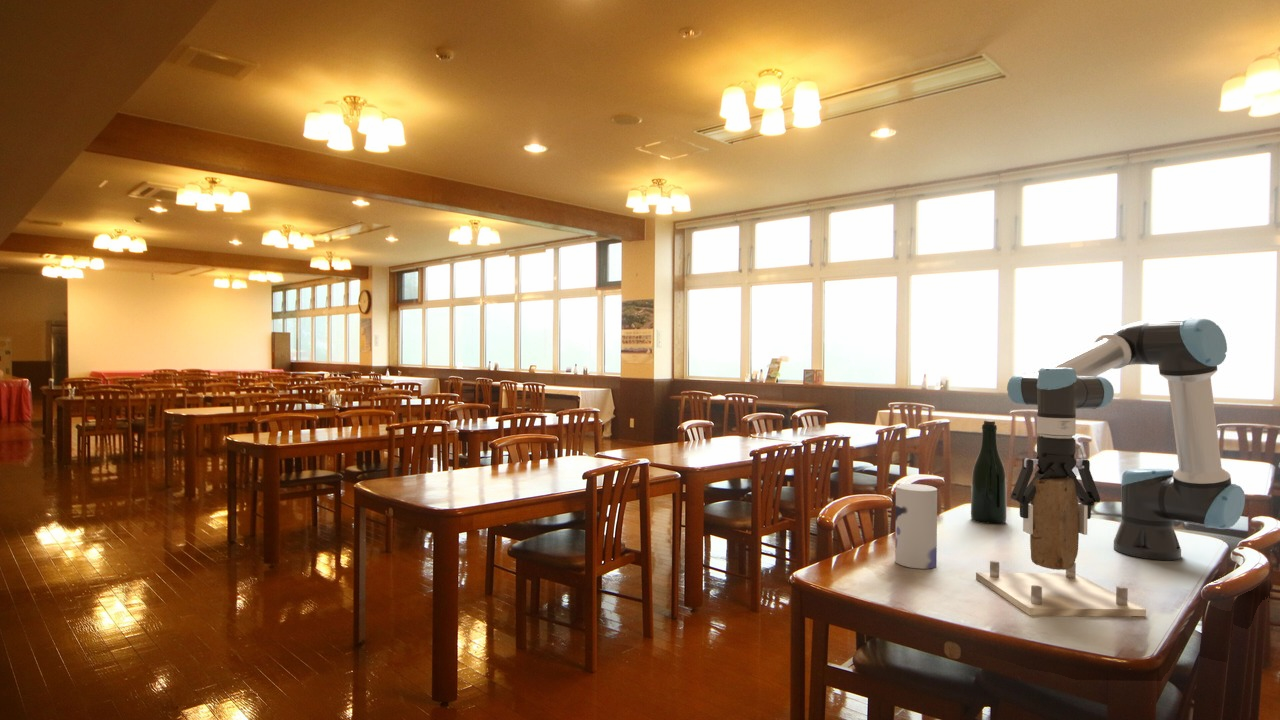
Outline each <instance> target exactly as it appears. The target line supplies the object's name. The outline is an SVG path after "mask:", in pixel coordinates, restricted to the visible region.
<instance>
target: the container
mask: <svg viewBox="0 0 1280 720" xmlns="http://www.w3.org/2000/svg"><path fill="white" fill-rule="evenodd" d="M937 529H938V488H937V487H935V486H931V485H926V484H920V483H918V484H917V483H901V484H897V485H895V533H894V534H895V538H894V539H895V542H894V543H895V544H894V545H895V549H894V551H895V554H894V556H895V557H894V558H895V559H894V560H895V561H894V562H895V563H897V564H898V565H899V566H902V567H907V568H910V569H917V570H918V569H920V570H922V569H923V570H925V569H933V568H936V567H937V563H938V559H937V558H938V556H937V555H938V554H937V553H938V551H937V550H938V548H937V547H938V541H937V540H938V538H937V537H938V534H937V532H938V530H937Z"/></svg>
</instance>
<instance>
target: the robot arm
mask: <svg viewBox="0 0 1280 720" xmlns="http://www.w3.org/2000/svg"><path fill="white" fill-rule="evenodd" d="M1227 352H1228V344H1227V340H1226V336H1225V333H1224V332H1223V330H1222V328H1221V327H1220V326H1219V325H1218V324H1216V323H1215V322H1214V321H1213V320H1210V319H1207V318H1192V317H1189V318H1171V319H1154V320H1153V319H1152V320H1151V319H1148V320H1141V321H1136V322H1132V323H1129V324H1126V325H1123V326H1121V327H1118V328H1115V329H1113V330H1111V331H1108V332H1107V333H1104V334H1102V335H1101V336H1099V337H1097V338H1096V339H1095V341H1094V343H1093V344H1091V345H1089V346H1086V347H1085V348H1083V349H1081V350H1078V351H1076V352H1074V353H1072V354H1070V355H1068V356H1066V357H1063V358H1062V359H1060V360H1057V361H1056V362H1054V363H1052V364H1049V365H1048V366H1045V367H1042V368H1039V370H1038V371H1036V372H1033V373H1029V374H1028V373H1027V374H1026V373H1017V374H1014V375H1011V376H1010V378H1009V380H1008V381H1007V386H1006V391H1007V395H1008V398H1009V399H1010V401H1012V402H1013V403H1015V404H1021V405H1025V406H1037V413H1036V414H1037V415H1036V433H1037V434H1038V436H1037V437H1036V454H1037V455H1036V457H1035V458H1028V457H1027V458H1026V457H1023V458H1022V461H1021V462H1022V463H1021V470H1020V473H1019V475H1018V477H1017V480H1016V482H1015V484H1014V487H1013V490H1012V492H1011V494H1010V498H1011V500H1013V501H1016V502H1018V503H1019V517H1020V518H1022V532H1024V533H1026V534H1029V535H1030V534H1033V505H1032V504H1031V500H1032V499H1033V497H1034V496H1035V493H1036V485H1035V486H1033V482H1034V480H1035V479H1037V478H1039V480H1042V479H1049V477H1050V478H1057V477H1059V478H1065V477H1069V478H1072V479H1073V480H1074V482H1075V490H1076V495H1077V499H1079V501H1080V502H1081V503H1080V502H1078V512H1079V534H1082V535H1084V536H1086V535H1087V536H1088V520H1090V519H1091V518H1092V507H1093V506H1095V503H1100V502H1101V496H1100V495H1099V491H1098V489H1097V486H1096V484H1095V481H1094V477H1093V476H1092V473H1091V469H1090V467H1091V465H1090V460H1088V459H1086V458H1081V457H1079V458H1078V459H1076V458H1075V455H1076V449H1077V448H1076V439H1075V438H1074V437H1073V436H1075V435H1076V425H1077V424H1076V422H1077V421H1076V418H1077V417H1076V415H1077V413H1076V412H1077V409H1078V410H1079V409H1081V410H1086V409H1090V410H1097V409H1101V408H1104V407H1106V406H1108V405H1109V404H1111V403H1112V401H1113V399H1114V396H1115V395H1114V394H1115V392H1114V391H1115V389H1114V387H1113V384H1112V383H1111V382H1110V381H1109V380H1108V379H1107V378H1105V377H1102V376H1099V375H1102V374H1103V373H1106V372H1107V371H1110V370H1111V369H1114V370H1115V369H1121V368H1122V369H1123V368H1124V367H1126V366H1130V365H1131V366H1133V365H1153V366H1154V365H1156V366H1158V373H1159V375H1160V376H1162V377H1163V378H1164V379H1166V380H1167V383H1168V384H1167V385H1168V393H1169V400H1170V407H1171V408H1170V409H1171V415H1172V417H1171V418H1172V422H1173V432H1174V439H1175V440H1174V441H1175V447H1176V455H1177V462H1178V463H1177V464H1178V468H1177V470H1175V471H1174V470H1173V469H1169V468H1168V469H1167V468H1138V469H1137V468H1134V469H1127V470H1125V471H1124V472H1123V473H1122V476H1121V484H1120V488H1121V516H1120V517H1121V519H1120V524H1119V527H1118V529H1117V532H1116V533H1115V537H1114V538H1113V550H1115V551H1117V552H1119V553H1121V554H1125V555H1128V556H1132V557H1136V558H1142V559H1147V560H1148V559H1149V560H1158V561H1176V560H1180V559H1182V548H1181V545H1180V542H1179V539H1178V537H1177V534H1176V531H1175V530H1174V529H1175V528H1174V521H1176V522H1182V523H1186V524H1191V525H1196V526H1201V527H1205V528H1207V529H1211V528H1212V529H1220V530H1227V529H1230V528H1232V527H1234V526H1235V525H1236V524H1237V523H1238V522H1239V520H1240V518H1241V516H1242V514H1243V512H1244V509H1245V503H1246V502H1245V501H1246V494H1245V491H1244V489H1243V488H1242V486H1240V485H1237V484H1235V483H1232V478H1231V474H1230V473H1229V472H1228V471H1226V469H1224V468H1223V467H1222V460H1221V453H1220V452H1221V451H1220V444H1219V443H1220V441H1219V435H1218V429H1217V417H1216V412H1215V411H1216V410H1215V402H1214V393H1213V387H1212V376H1213V375H1214V374H1215V373H1216V372H1218V366H1219V365H1221V364H1223V362H1224V361H1225V360H1226V358H1227V357H1226V356H1227V354H1226V353H1227ZM1036 467H1038V469H1037V471H1036V472H1035V473H1034V477H1033V478H1032V479H1031V477H1032V474H1033V472H1034V469H1036ZM1075 467H1076V468H1077V470H1078V473H1079V476H1080V479H1081V482H1082V484H1081V483H1080V481H1079V480H1078V478H1077V475H1076V474H1075V473H1074V471H1073V470H1074V468H1075ZM1030 479H1031V481H1030ZM1082 485H1083V486H1082Z"/></svg>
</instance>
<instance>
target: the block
mask: <svg viewBox="0 0 1280 720" xmlns="http://www.w3.org/2000/svg"><path fill="white" fill-rule="evenodd" d="M1035 485H1036V493H1035V496H1034V497H1033V499H1032V500H1031V502H1030V504H1032V505H1033V534H1029V535H1030V536H1029V538H1030V539H1029V542H1030V543H1029V545H1030V559H1031V561H1032V563H1033V564H1034V565H1036V566H1040V567H1041V568H1045V569H1050V570H1059V571H1060V570H1061V571H1063V570H1064V571H1066V570H1067V569H1070V568H1072V566H1073V565H1074V562H1075V563H1076V559H1077V557H1078V553H1079V537H1080V535H1079V534H1080V533H1079V512H1078V503H1079V502H1078V499H1079V498H1078V497H1077V495H1076V490H1075V482H1074V480H1073V479H1072V478H1069V477H1065V478H1059V477H1057V478H1050V477H1049V479H1042V480H1039V478H1037V479H1035V480H1034V482H1033V486H1035Z"/></svg>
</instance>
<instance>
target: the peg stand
mask: <svg viewBox="0 0 1280 720" xmlns="http://www.w3.org/2000/svg"><path fill="white" fill-rule="evenodd" d="M1076 566H1077V565H1076V561H1075V562H1074V565H1073V566H1072V568H1070V569H1067V570H1065V573H1063V572H1062V573H1061V572H1000V561H997V560H990V561H989V572H978V571H977V572H975V579H976V580H977V581H978V582H980V583H982V584H983V585H984V586H986V587H988V588H989V589H991V590H992V591H993V592H995V593H997V595H998V596H1001V597H1002V598H1004V599H1005V600H1007V601H1008V602H1009V603H1011V604H1012V605H1014V606H1015V607H1017V608H1018V609H1020V610H1021V611H1023V612H1024V613H1026V614H1027V615H1028V616H1036V617H1037V616H1046V617H1048V616H1049V617H1050V616H1051V617H1055V616H1057V617H1059V616H1060V617H1063V616H1065V617H1131V616H1146V617H1147V608H1144V607H1143V606H1141V605H1138V604H1136V603H1134V602H1132V601H1131V600H1128V598H1129V597H1128V595H1129V594H1128V592H1129V591H1128V587H1126V586H1121V585H1119V586H1117V585H1116V586H1115V588H1116V589H1115V592H1116V593H1115V592H1113V591H1111V590H1109V589H1107V588H1105V587H1103V586H1101V585H1099V584H1097V583H1095V582H1093V581H1091V580H1089V579H1088V578H1085V577H1084V576H1081V575H1080V574H1077V573H1076V572H1077V571H1076V570H1077V569H1076V568H1077V567H1076Z"/></svg>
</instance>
